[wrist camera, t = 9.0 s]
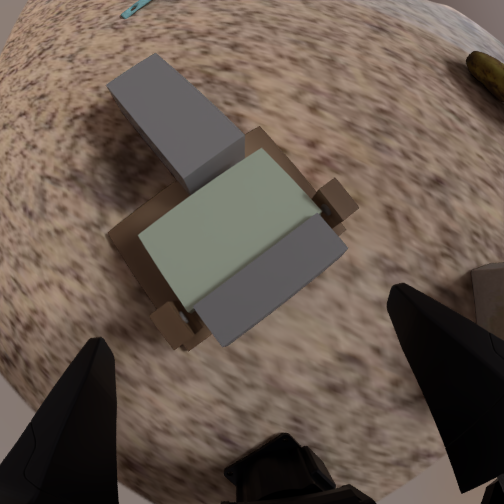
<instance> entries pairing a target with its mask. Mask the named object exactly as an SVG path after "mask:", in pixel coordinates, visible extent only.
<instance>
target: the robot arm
mask: <svg viewBox="0 0 504 504" xmlns="http://www.w3.org/2000/svg"><path fill="white" fill-rule="evenodd" d="M387 311H388V313H389V316H390V318H391V321H392V324H393V326H394V329H395V331H396V334H397V337H398V340H399V342H400V345H401V347H402V350H403V352H404V354H405V356H406V358H407V360H408V362H409V364H410V367H411V369H412V371H413V373H414V375H415V377H416V379H417V382H418V384H419V386H420V388H421V390H422V393H423V395H424V397H425V399H426V402H427V404H428V406H429V409H430V411H431V413H432V416H433V418H434V421H435V423H436V426H437V428H438V431H439V433H440V436H441V438H442V441H443V443H444V446H445V447H446V448H445V449H446V452H447V454H448V457H449V459H450V462H451V465H452V468H453V471H454V474H455V477H456V480H457V483H458V486H459V489H460V491H461V494H463V493H465V492H467V491H470V490H471V489H474V488H476V487H478V486H480V485H482V484H484V483H486V482H488V481H490V480H492V479H494V478H496V477H497V479H496V480H495V481H493V482H492V483H491V484H490V485H488V486H487V487H486V490H485V493H484V496H483V499H482V502H481V504H504V340H502V339H500V338H499V337H497V336H495V335H494V334H492V333H491V332H488V331H487V330H486V329H484V328H482V327H481V326H479V325H477V324H476V323H474V322H472V321H470V320H469V319H467V318H465V317H464V316H462V315H460V314H459V313H457V312H455V311H453V310H452V309H450V308H448V307H447V306H445V305H443V304H441V303H440V302H438V301H436V300H434V299H433V298H431V297H429V296H427V295H425V294H424V293H422V292H420V291H418V290H416V289H415V288H413V287H411V286H409V285H407V284H406V283H399V284H395V285H393V286H392V287H391V290H390V294H389V297H388V301H387ZM116 418H117V397H116V381H115V359H114V355H113V353H112V351H111V350H110V348H109V346H108V345H107V343H106V342H105V340H104V339H103V338H102V337H96V338H90V339H89V340H88V341H87V342H86V344H85V345H84V346H83V348H82V349H81V350H80V352H79V353H78V354H77V356H76V357H75V358H74V360H73V361H72V362H71V364H70V365H69V366H68V368H67V369H66V371H65V372H64V373H63V375H62V376H61V378H60V379H59V380H58V382H57V383H56V385H55V386H54V387H53V389H52V390H51V392H50V393H49V395H48V396H47V397H46V399H45V400H44V402H43V403H42V405H41V406H40V408H39V409H38V411H37V412H36V414H35V415H34V417H33V418H32V420H31V422H30V423H29V424H28V426H27V427H26V429H25V430H24V432H23V433H22V435H21V437H20V438H19V439H18V441H17V442H16V444H15V445H14V447H13V448H12V449H11V451H10V452H9V453H8V455H7V456H6V457H5V459H4V460H3V461H2V463H1V464H0V504H119V501H118V485H117V460H116ZM285 437H287V438H288V439H287V440H285V441H284V440H283V438H285ZM228 472H232V474H229V473H228ZM224 476H225V477H226V478H227V479H228V480H230V481H231V482H232V483H233V484H234V485H235V486H236V502H229V501H221V504H376V503H375V501H374V500H373V499H372V498H370V497H369V496H367V495H366V494H364V493H362V492H361V491H359V490H358V489H356V488H355V487H353V486H352V485H351V484H347V485H343V486H342V487H340V488H336V484H335V482H334V481H333V479H332V477H331V475H330V474H329V472H328V470H327V468H326V466H325V465H324V463H323V461H322V460H321V459H320V458H319V457H318V456H317V455H316V454H315V453H314V452H313V451H312V450H311V449H310V448H309V447H308V446H303V447H301V445H300V444H299V443H298V442H297V441H296V440H295V439H294V438H293V437H292V436H291V435H290V434H289V433H283V434H281V435H279V436H278V437H276V438H275V439H273V440H272V441H270V442H269V443H267V444H265V445H264V446H262V447H261V448H259V449H257V450H256V451H254V452H253V453H251V454H249V455H248V456H246V457H244V458H243V459H241V460H239V461H238V462H236V463H234V464H232V465H231V466H229V467H227V468H226V469H225V470H224ZM335 488H336V489H335Z"/></svg>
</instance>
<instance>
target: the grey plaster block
mask: <svg viewBox="0 0 504 504" xmlns="http://www.w3.org/2000/svg"><path fill="white" fill-rule="evenodd" d="M471 276H472V283H473V291H474V302H475V306H476V307H475V310H476V319H477V325H479V326H481V327H482V328H484V329H486V330H487V331H488V332H491V333H492V334H494V335H495V336H497V337H499V338H500V339H502V340H504V262H501V263H490V264H487V265H484V266H482V267H479V268H476V269H474V270H472V271H471Z"/></svg>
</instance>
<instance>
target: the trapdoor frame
mask: <svg viewBox="0 0 504 504" xmlns="http://www.w3.org/2000/svg"><path fill="white" fill-rule="evenodd" d="M260 148H262V149H263V150H264V151H265V152H266V153H267V154H268V155H269V156H270V157H271V158H272V159H273V160H274V161H275V162H276V163H277V164H278V165H279V166H280V167H281V168H282V169H283V170H284V171H285V172H286V173H287V174H288V175H289V176H290V177H291V178H292V179H293V180H294V181H295V182H296V183H297V185H298V186H299V187H300V188H301V189H302V190H303V191H304V192H305V193H306V194H307V195H308V196H309V197H310V198H311V200H312V201H313V202H314V203H315V204H316V205H317V206H318V207H319V208H320V209H321V211H322V213H321V215H320V216H321V217H322V218H323V219H324V221H325V222H326V223H327V224H328V225H329V226H330V227H331V229H332V230H333V231H334V232H335V233H336V234H337V235H338V236H339V235H340V234H342V233H343V232H344V231H345V230H346V229H345V227H344V226H343V225H342V223H341V222H342V221H344V220H345V219H346V218H348V217H349V216H350V215H351V214H352V213H354V212H355V211H356V210H357V209H359V207H358V205H357V204H356V203H355V201H354V200H353V199H352V198H351V196H350V195H349V194H348V193H347V191H346V190H345V189H344V188H343V186H342V185H341V184H340V183H339V181H338V180H337V179H336V178H334V179H332V180H331V181H329V182H328V183H327V184H325V185H324V186H323V187H321V188H320V189H319V190H318V191H317V192H316V191H315V189H314V188H313V187H312V186H311V184H310V183H309V182H308V181H307V180H306V178H305V177H304V176H303V175H302V174H301V172H300V171H299V170H298V169H297V168H296V167H295V165H294V164H293V163H292V162H291V161H290V160H289V158H288V157H287V156H286V155H285V154H284V153H283V151H282V150H281V149H280V148H279V147H278V146H277V145H276V144H275V142H274V141H273V140H272V139H271V138H270V137H269V136H268V135H267V134H266V132H265V131H264V130H263V129H262V128H261V127H260V126H259V127H257V128H255V129H254V130H252V131H250V132H249V133H247V134H246V135H245V158H246V157H248V156H249V155H251V154H253V153H254V152H256V151H257V150H259V149H260ZM189 196H190V195H189V194H188V193H187V191H186V190H185V189H184V188H183V187H182V185H181V184H180V183H179V182H178V181H177V180H176V181H175V182H173V183H172V184H170V185H169V186H168V187H166V188H165V189H164V190H162V191H161V192H159V193H158V194H157V195H155V196H154V197H153V198H151V199H150V200H149V201H147V202H146V203H145V204H143V205H142V206H141V207H140V208H138V209H137V210H136V211H134V212H133V213H132V214H130V215H129V216H128V217H127V218H125V219H124V220H123V221H122V222H120V223H119V224H118V225H117V226H115V227H114V228H113V229H112V230H111V231H109V232H108V234H109V236H110V238H111V239H112V241H113V243H114V244H115V246H116V248H117V249H118V251H119V252H120V254H121V256H122V257H123V259H124V260H125V262H126V264H127V265H128V267H129V268H130V270H131V271H132V273H133V274H134V276H135V277H136V279H137V281H138V282H139V284H140V285H141V287H142V288H143V289H144V291H145V292H146V294H147V295H148V297H149V298H150V300H151V301H152V303H153V304H154V305H155V307H156V308H157V310H156V311H155V312H153V313H152V314H151V315H149V317H150V318H151V320H152V321H153V323H154V324H155V325H156V327H157V328H158V330H159V331H160V332H161V334H162V335H163V336H164V338H165V339H166V341H167V342H168V343H169V345H170V346H171V347H172V348H173V350H175V349H177V348H178V347H179V346H181V345H182V344H183V345H184V346H185V348H186V349H187V350H188V351H190V350H191V349H192V348H194V347H195V346H197V345H198V344H199V343H201V342H202V341H204V340H205V339H206V338H208V337H209V336H210V335H212V333H211V331H210V330H209V328H208V327H207V326H206V324H205V323H204V322H203V320H202V319H201V317H200V316H199V315H198V313H197V312H196V311H194V312H193V313H192V314H191V313H188V312H187V310H186V309H185V307H184V306H183V304H182V303H181V301H180V300H179V299H178V297H177V296H176V294H175V293H174V291H173V290H172V288H171V287H170V285H169V284H168V282H167V281H166V279H165V278H164V276H163V275H162V273H161V271H160V270H159V268H158V267H157V265H156V264H155V262H154V261H153V259H152V257H151V256H150V254H149V253H148V251H147V249H146V248H145V246H144V245H143V243H142V241H141V240H140V238H139V236H138V235H139V234H140V233H141V232H142V231H144V230H145V229H146V228H148V227H149V226H150V225H152V224H153V223H154V222H155V221H157V220H158V219H159V218H161V217H162V216H163V215H165V214H166V213H167V212H169V211H170V210H172V209H173V208H174V207H176V206H177V205H178V204H180V203H181V202H182V201H184V200H185V199H187V198H188V197H189Z"/></svg>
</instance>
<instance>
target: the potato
mask: <svg viewBox="0 0 504 504" xmlns="http://www.w3.org/2000/svg"><path fill="white" fill-rule="evenodd" d="M466 64H467V67H468V69H469V70H470V72H471V74H472V75H473V76H474V77H475V78H476V79H477V80H479V81H481V82H482V84H483V85H484V86H485V87H486V88H487V89H488V90H489V91H490V92H491V93H492V94H493V95H494V96H496V97H497V98H498V99H499V100H501V101H502V102H504V64H503V63H501V62H500V61H499V60H497V59H495V58H494V57H492V56H489V55H488V54H485V53H482V52H479V51H473V52H472V53H471V54H469V56H468V57H467V59H466Z"/></svg>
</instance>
